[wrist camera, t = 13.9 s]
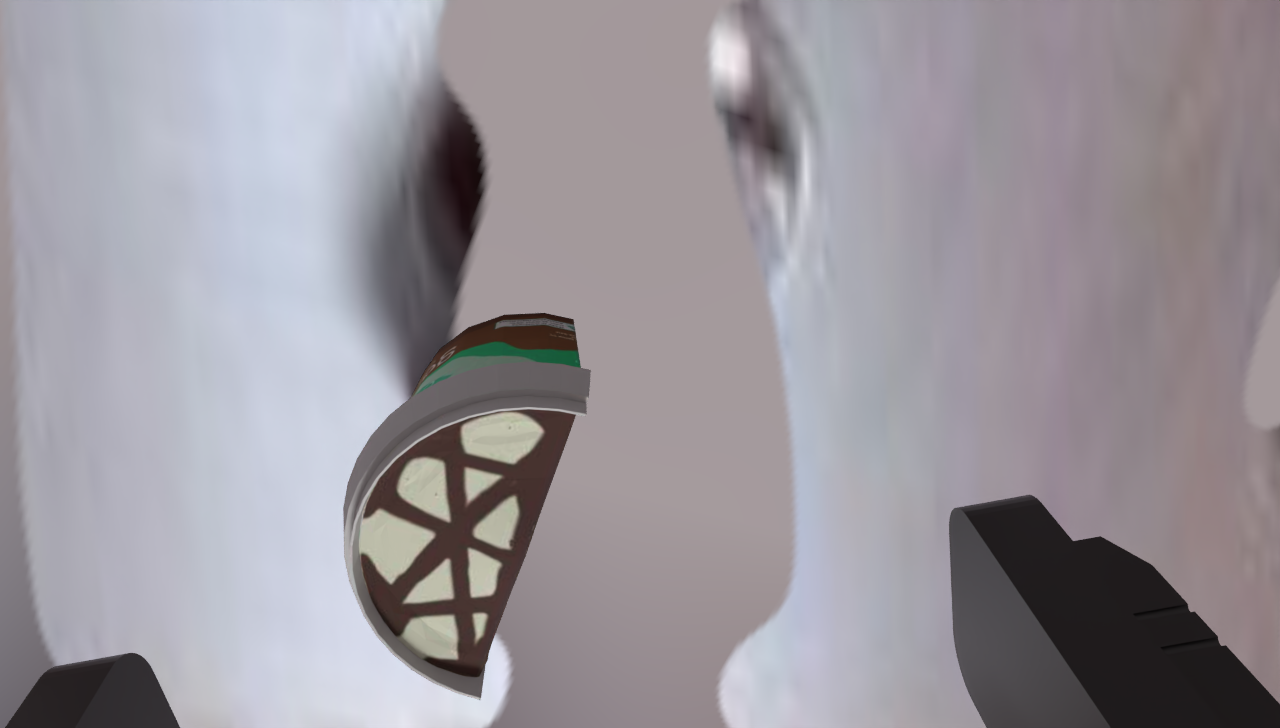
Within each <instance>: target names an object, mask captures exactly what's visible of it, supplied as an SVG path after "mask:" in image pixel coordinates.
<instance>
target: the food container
mask: <svg viewBox="0 0 1280 728" xmlns="http://www.w3.org/2000/svg"><path fill="white" fill-rule="evenodd" d="M590 372H591V371H590V370H588V369H583V368H581V366H580V360H579V353H578V347H577V340H576V333H575V327H574V320H573V319H569V318H565V317H560V316H555V315H551V314H546V313H536V314H514V315H503V316H500V317H497V318H495V319H491V320H488V321H486V322H483V323H480V324H477V325H474V326H471V327H468V328H467V329H466V330H464V331H463V332H462V333H460V334H459V335H458V336H456V337H455V338H454V339H453V340H451V341H450V342H449V343H447V344H446V345H445V346H443V347H442V348H441V349H439V351H438V352H437V354H436V355H435V357H434V358H433V359H432V361H431V362H430V364H429V365H428V367H427V368H426V370H425V371H424V373H423V375H422V377H421V379H420V381H419V383H418V385H417V387H416V389H415V391H414V393H413V395H412V397H411V398H410V399H409V400H408V401H406V402H405V403H404V404H403V405H401V406H400V407H399V408H398V409H396V410H395V411H394V412H393V413H391V414H390V415H389V416H388V417H387V419H386V420H385V421H384V422H383V423H382V424H381V425H380V426H379V428H378V429H377V430H376V431H375V432H374V433H373V434H372V435H371V437H370V439H369V440H368V442H367V444H366V445H365V447H364V448H363V450H362V452H361V453H360V455H359V457H358V458H357V461H356V463H355V466H354V468H353V471H352V474H351V476H350V479H349V482H348V485H347V491H346V497H345V503H344V508H343V509H344V558H345V562H346V567H347V572H348V577H349V582H350V584H351V587H352V589H353V592H354V594H355V597H356V599H357V602H358V604H359V606H360V608H361V610H362V613H363V615H364V617H365V619H366V620H367V622H368V623H369V625H370V626H371V628H372V630H373V631H374V633H375V634H376V636H377V637H378V638H379V639H380V640H381V642H382V643H383V644H384V645H385V646H386V647H387V648H388V649H389V651H390V652H391V653H392V654H393V655H394V656H396V657H397V658H398V659H399V660H400V661H402V662H403V663H404V664H405V665H407V666H408V667H409V668H410V669H411V670H413V671H415V672H416V673H418V674H419V675H421V676H423V677H424V678H426V679H428V680H429V681H431V682H433V683H435V684H437V685H439V686H442V687H444V688H446V689H449V690H451V691H453V692H456V693H458V694H462V695H465V696H468V697H472V698H475V699H479V700H480V699H481V693H482V686H483V678H484V671H485V664H486V662H487V659H488V654H489V650H490V647H491V644H492V641H493V638H494V636H495V633H496V630H497V628H498V625H499V623H500V620H501V617H502V615H503V612H504V609H505V607H506V604H507V601H508V599H509V596H510V593H511V591H512V588H513V586H514V583H515V581H516V578H517V576H518V573H519V571H520V568H521V566H522V563H523V561H524V558H525V556H526V553H527V550H528V547H529V544H530V541H531V539H532V535H533V533H534V529H535V527H536V524H537V521H538V518H539V515H540V513H541V510H542V507H543V504H544V501H545V499H546V496H547V493H548V490H549V488H550V485H551V482H552V480H553V477H554V474H555V471H556V468H557V466H558V463H559V460H560V458H561V455H562V452H563V450H564V447H565V444H566V441H567V439H568V436H569V433H570V430H571V427H572V425H573V422H574V419H575V416H576V415H581V416H586V403H587V400H588V398H589V386H590Z"/></svg>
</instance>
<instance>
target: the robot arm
mask: <svg viewBox="0 0 1280 728" xmlns="http://www.w3.org/2000/svg"><path fill="white" fill-rule="evenodd" d="M949 537H950V562H951V587H952V612H953V633H954V642H955V648H956V653H957V658H958V662H959V666H960V669H961V673H962V676H963V679H964V682H965V685H966V687H967V690H968V692H969V694H970V697H971V699H972V701H973V703H974V705H975V706H976V708H977V710H978V712H979V714H980V716H981V718H982V720H983V722H984V724H985V725H986V727H987V728H1280V704H1279V703H1278V702H1277V701H1276V700H1275V699H1274V698H1273V696H1272V695H1271V694H1270V693H1269V692H1268V691H1267V690H1266V689H1265V688H1264V687H1263V686H1262V684H1261V683H1260V682H1259V681H1258V680H1257V679H1256V678H1255V677H1254V676H1253V675H1252V674H1251V672H1250V671H1249V670H1248V669H1247V668H1246V667H1245V666H1244V665H1243V664H1242V663H1241V662H1240V660H1239V659H1238V658H1237V657H1236V656H1235V655H1234V654H1233V653H1232V652H1231V651H1230V650H1229V648H1228V647H1227V646H1226V645H1225V646H1221V645H1220V644H1219V641H1218V636H1217V635H1216V634H1215V633H1214V632H1213V631H1212V630H1211V629H1210V628H1209V627H1208V626H1207V624H1206V623H1205V622H1204V621H1203V620H1202V619H1201V618H1200V617H1199V616H1198V615H1197V614H1196V612H1190V611H1189V609H1188V604H1187V603H1186V602H1185V600H1184V599H1183V598H1182V597H1181V596H1180V595H1179V594H1178V593H1177V592H1176V591H1175V590H1174V588H1173V587H1172V586H1171V585H1170V584H1169V583H1168V582H1167V581H1166V580H1165V579H1164V578H1163V576H1162V575H1161V574H1160V573H1159V572H1158V571H1157V570H1156V569H1155V568H1154V567H1153V566H1152V565H1151V564H1149V563H1147V562H1146V561H1144V560H1142V559H1140V558H1138V557H1137V556H1135V555H1133V554H1131V553H1129V552H1128V551H1126V550H1124V549H1122V548H1120V547H1119V546H1117V545H1115V544H1113V543H1111V542H1110V541H1108V540H1106V539H1104V538H1102V537H1101V536H1100V537H1095V538H1089V539H1083V540H1078V541H1072V540H1071V538H1070V537H1069V536H1068V535H1067V533H1066V532H1065V531H1064V530H1063V529H1062V527H1061V526H1060V525H1059V524H1058V523H1057V521H1056V520H1055V519H1054V518H1053V517H1052V515H1051V514H1050V513H1049V512H1048V510H1047V509H1046V508H1045V507H1044V506H1043V504H1042V503H1041V502H1040V501H1039V500H1038V499H1037V498H1035V497H1034V496H1032V495H1026V496H1020V497H1015V498H1009V499H1003V500H998V501H992V502H987V503H981V504H975V505H970V506H964V507H959V508H954V509H953V510H952V512H951V515H950V522H949ZM5 728H180V727H179V725H178V722H177V720H176V718H175V716H174V714H173V712H172V710H171V708H170V706H169V703H168V701H167V699H166V697H165V695H164V693H163V691H162V689H161V687H160V684H159V682H158V680H157V678H156V676H155V674H154V672H153V670H152V668H151V666H150V665H149V663H148V662H147V661H146V660H145V659H144V658H143V657H142V656H140V655H138V654H135V653H128V654H122V655H117V656H111V657H105V658H100V659H94V660H89V661H83V662H77V663H72V664H66V665H61V666H55V667H53V668H51V669H49V670H47V671H46V672H45V673H44V674H43V675H42V676H41V677H40V679H39V680H38V681H37V683H36V684H35V686H34V687H33V688H32V690H31V691H30V693H29V694H28V696H27V697H26V699H25V700H24V701H23V703H22V704H21V706H20V707H19V709H18V710H17V711H16V713H15V714H14V716H13V717H12V718H11V720H10V721H9V723H8V724H7V726H6V727H5Z"/></svg>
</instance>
